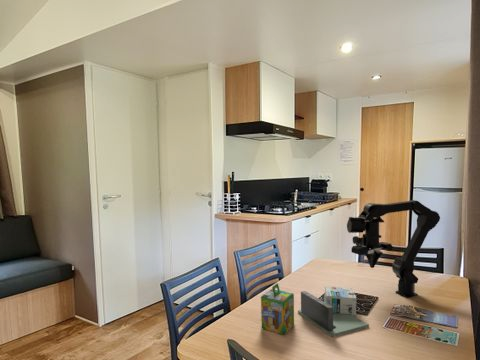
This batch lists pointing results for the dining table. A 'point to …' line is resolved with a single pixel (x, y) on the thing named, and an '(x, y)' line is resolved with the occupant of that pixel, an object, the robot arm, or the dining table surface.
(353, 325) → the shelf board
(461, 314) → the dining table surface
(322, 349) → the dining table surface
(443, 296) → the dining table surface
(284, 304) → the chalk box
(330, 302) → the light bulb box
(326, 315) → the bookend
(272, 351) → the dining table surface
